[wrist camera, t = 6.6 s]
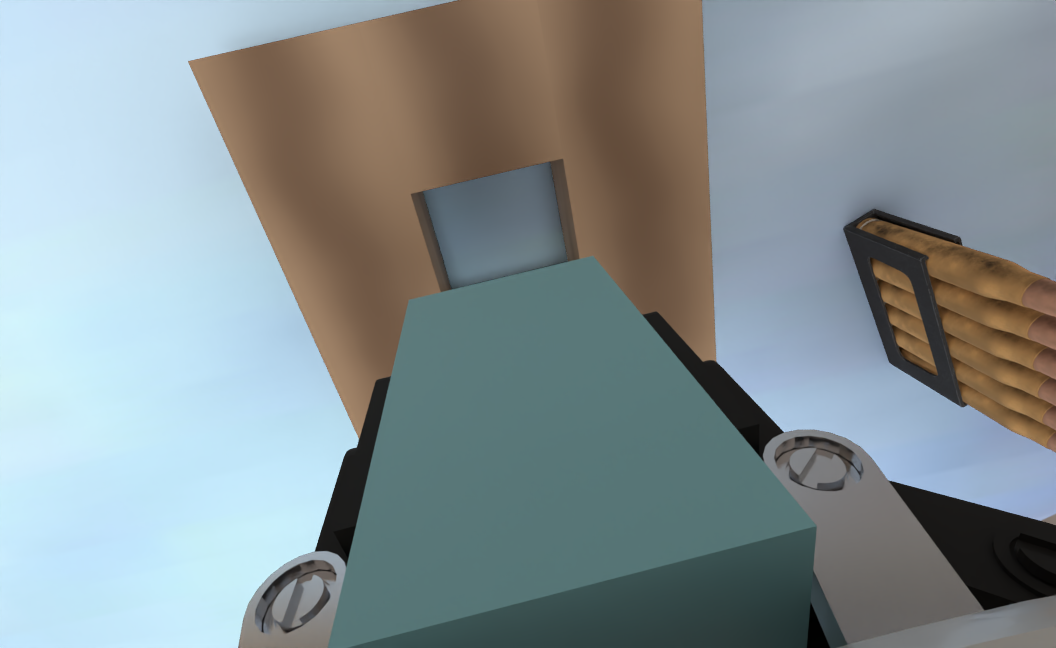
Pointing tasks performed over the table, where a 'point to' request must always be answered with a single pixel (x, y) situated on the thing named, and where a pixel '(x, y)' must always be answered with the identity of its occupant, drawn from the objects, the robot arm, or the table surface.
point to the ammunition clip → (962, 321)
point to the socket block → (472, 155)
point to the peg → (564, 487)
